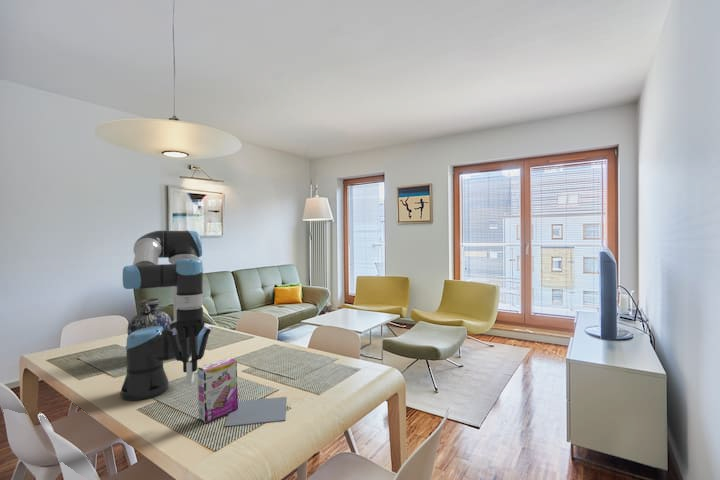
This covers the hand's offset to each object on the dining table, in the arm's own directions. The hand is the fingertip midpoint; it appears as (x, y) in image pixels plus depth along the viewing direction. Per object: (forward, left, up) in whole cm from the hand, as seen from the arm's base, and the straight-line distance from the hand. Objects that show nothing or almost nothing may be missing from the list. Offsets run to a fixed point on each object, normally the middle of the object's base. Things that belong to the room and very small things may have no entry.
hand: (190, 381), depth 109 cm
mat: (+21, 0, -12) cm, 24 cm away
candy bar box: (+9, 0, -12) cm, 14 cm away
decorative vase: (-36, +66, -12) cm, 76 cm away
